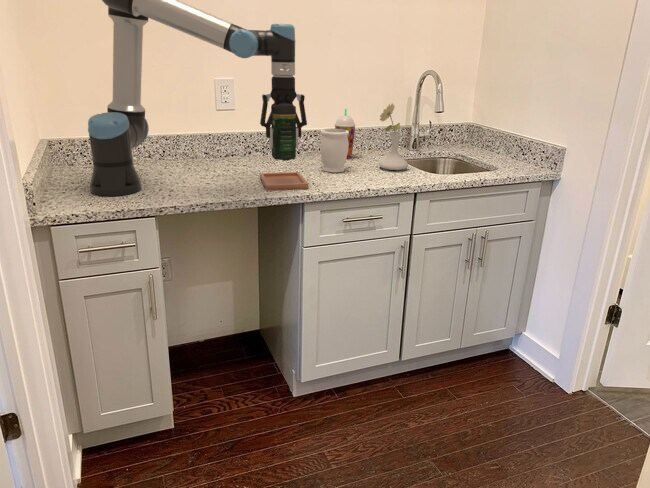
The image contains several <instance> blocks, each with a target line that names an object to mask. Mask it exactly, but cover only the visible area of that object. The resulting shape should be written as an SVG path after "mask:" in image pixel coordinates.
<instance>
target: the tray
mask: <svg viewBox="0 0 650 488" xmlns="http://www.w3.org/2000/svg"><path fill="white" fill-rule="evenodd" d="M259 177H260V181H261V183H262V185H263V186H264V188H265V191H267V192H268V191H272V192H273V191H293V189H294V191H295V189H297V190H309V183H308V181H307V180H306V179H305V178H304V176H303V175H302V174H301V173H300V172H299V171H292V172H266V173H264V172H262V173H259Z"/></svg>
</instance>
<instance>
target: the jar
mask: <svg viewBox="0 0 650 488" xmlns="http://www.w3.org/2000/svg"><path fill="white" fill-rule="evenodd" d="M320 134H321V137H320V143H319V144H320V145H319V146H320V147H319V148H320V150H319V152H320V156H321V157H320V158H321V162H322V164H323V166H322V171H324V172H327V173H331V174H332V173H333V174H335V173H336V174H337V173H343V172H344V171H345V167H344V166H345V164H346V162H347V160H348V159H347V154H348V137H347V135H348V134H349V131H347V130H343V129H335V128H323V129H320Z"/></svg>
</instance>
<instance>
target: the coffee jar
mask: <svg viewBox="0 0 650 488" xmlns="http://www.w3.org/2000/svg"><path fill="white" fill-rule="evenodd" d="M270 109H271V110H270V112H271V111H273V112H272V113H273V114H272V118H273V121H272V124H271V127H272V129H273V148H271V157H272V159H274V160H276V161H277V160H278V161H286V162H287V161H290V160H295V159H296V158H297V148H296V127H297V125H296V113H297V107H296V106H295V105H294V104H293V105H292V104H289V103H287V102H281V103H280V104H278V105H276V106H275V104H274V103H272V104H271V107H270Z"/></svg>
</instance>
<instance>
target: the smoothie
mask: <svg viewBox="0 0 650 488" xmlns="http://www.w3.org/2000/svg"><path fill="white" fill-rule="evenodd" d="M334 129H343V130H347V131H349V134H348V135H347V137H348V154H347V159H346V160H349V159H351V157H352V155H353V150H354V148H353V147H354V141H355V131H356V130H355V129H356V123H355V122H354V120H353V118H352V117H350V116H348V115H347V108H344V115H341V116H340V117H338V119H337V120H336V123H335V124H334Z"/></svg>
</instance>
